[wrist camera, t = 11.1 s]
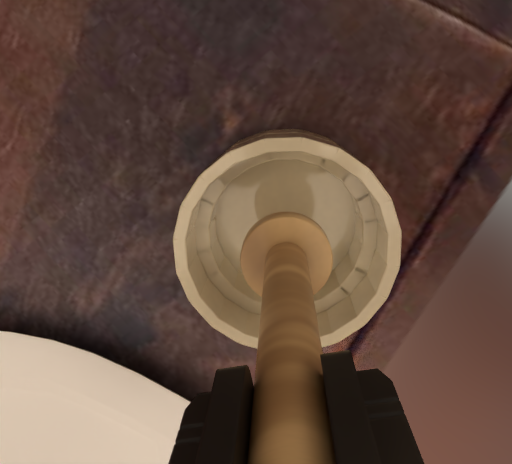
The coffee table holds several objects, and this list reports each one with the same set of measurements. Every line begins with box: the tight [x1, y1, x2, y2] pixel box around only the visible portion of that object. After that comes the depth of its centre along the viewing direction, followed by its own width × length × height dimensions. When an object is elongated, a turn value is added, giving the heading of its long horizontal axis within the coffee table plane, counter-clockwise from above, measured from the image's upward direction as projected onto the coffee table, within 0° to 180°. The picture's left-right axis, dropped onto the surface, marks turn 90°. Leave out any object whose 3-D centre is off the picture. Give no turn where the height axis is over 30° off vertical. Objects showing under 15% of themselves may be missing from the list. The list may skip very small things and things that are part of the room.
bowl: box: [173, 129, 402, 348], centre depth 23 cm, size 10×10×6 cm
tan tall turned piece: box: [240, 212, 336, 464], centre depth 13 cm, size 4×4×15 cm
